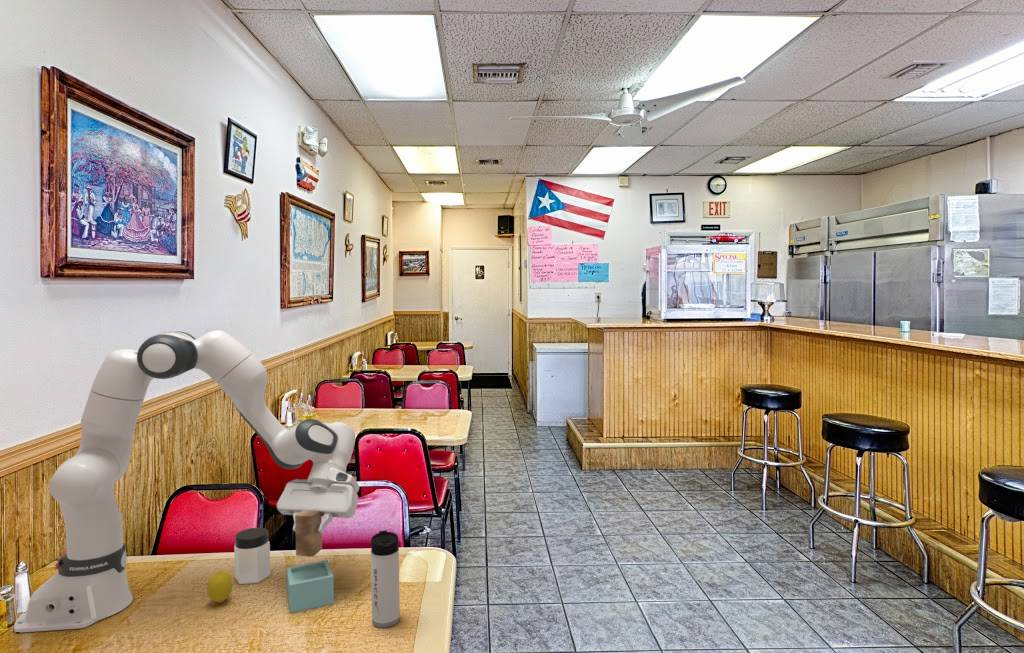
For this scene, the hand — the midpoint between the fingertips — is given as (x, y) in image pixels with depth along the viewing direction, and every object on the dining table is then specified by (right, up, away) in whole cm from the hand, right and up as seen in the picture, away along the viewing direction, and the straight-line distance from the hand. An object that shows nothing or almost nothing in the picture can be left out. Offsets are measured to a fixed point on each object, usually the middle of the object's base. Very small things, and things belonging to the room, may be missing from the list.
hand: (307, 531), depth 141 cm
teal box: (0, -17, +1) cm, 17 cm away
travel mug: (+21, -18, -9) cm, 29 cm away
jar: (-19, -17, +13) cm, 29 cm away
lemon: (-21, -18, 0) cm, 28 cm away
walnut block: (0, -5, +1) cm, 5 cm away
